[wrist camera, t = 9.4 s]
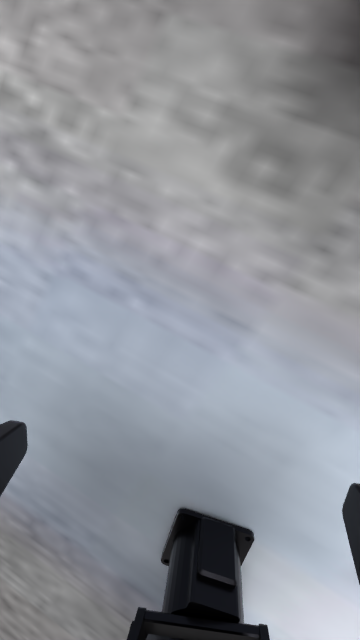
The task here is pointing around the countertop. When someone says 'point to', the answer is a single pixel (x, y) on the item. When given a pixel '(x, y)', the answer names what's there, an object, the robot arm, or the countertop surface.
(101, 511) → the countertop surface
